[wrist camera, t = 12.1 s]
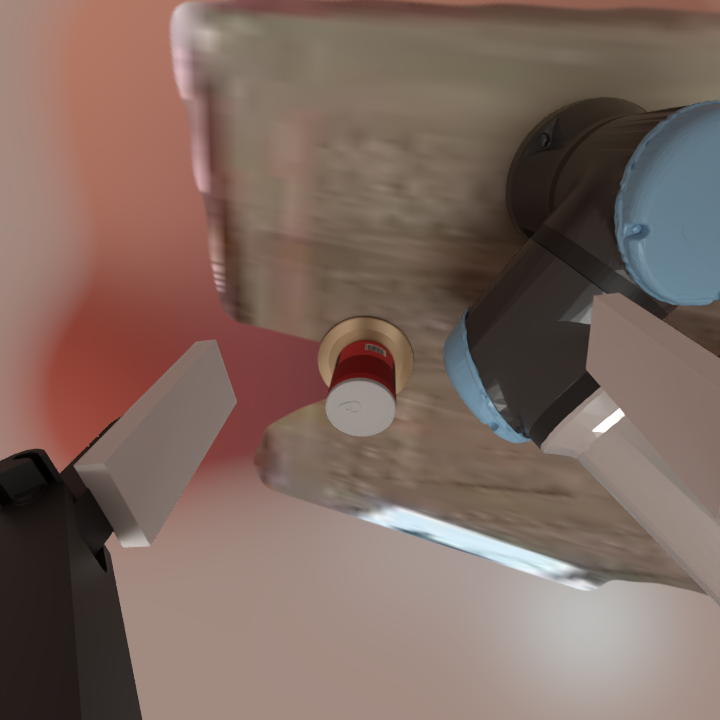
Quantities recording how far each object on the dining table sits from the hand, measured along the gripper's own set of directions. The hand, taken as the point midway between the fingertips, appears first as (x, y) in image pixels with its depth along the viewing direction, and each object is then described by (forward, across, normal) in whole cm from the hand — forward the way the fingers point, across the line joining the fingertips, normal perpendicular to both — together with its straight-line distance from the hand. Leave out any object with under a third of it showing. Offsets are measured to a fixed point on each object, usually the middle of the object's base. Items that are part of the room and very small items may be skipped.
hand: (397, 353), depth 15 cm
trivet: (+37, -6, -19) cm, 42 cm away
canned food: (+36, -6, -19) cm, 41 cm away
